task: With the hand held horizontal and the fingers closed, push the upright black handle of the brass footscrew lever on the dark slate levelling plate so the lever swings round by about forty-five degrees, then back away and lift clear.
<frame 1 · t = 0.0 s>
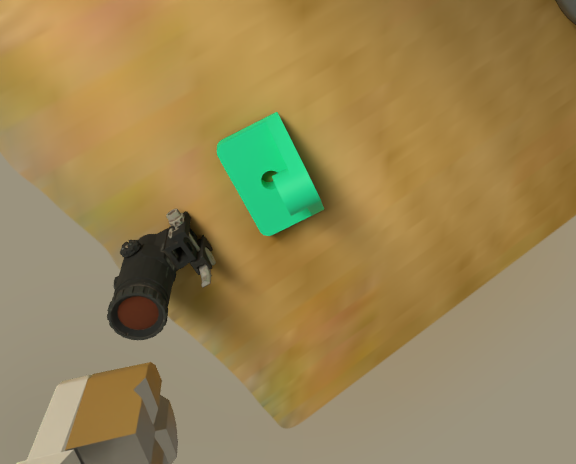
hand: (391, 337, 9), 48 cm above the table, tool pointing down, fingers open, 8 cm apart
camera mount: (268, 171, 58), on the table
scope: (161, 245, 60), on the table
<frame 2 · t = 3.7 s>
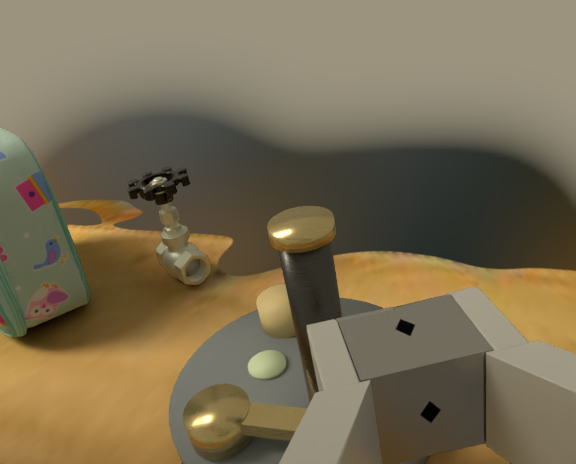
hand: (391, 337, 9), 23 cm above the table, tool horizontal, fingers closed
footscrew lever: (250, 343, 29), point 10 cm above the table, hinge at 0.0°
lunch box: (22, 295, 61), on the table
levelling plate: (306, 396, 39), on the table
valve: (188, 277, 58), on the table
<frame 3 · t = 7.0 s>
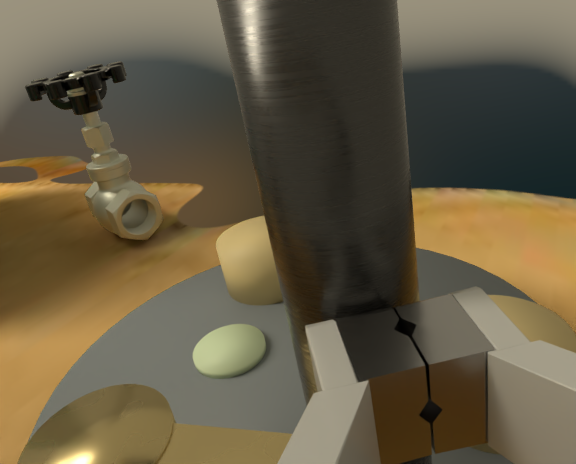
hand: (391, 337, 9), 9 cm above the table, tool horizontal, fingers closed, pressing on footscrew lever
footscrew lever: (148, 267, 11), point 10 cm above the table, hinge at 1.6°, touching gripper
levelling plate: (303, 410, 20), on the table
valve: (132, 233, 40), on the table
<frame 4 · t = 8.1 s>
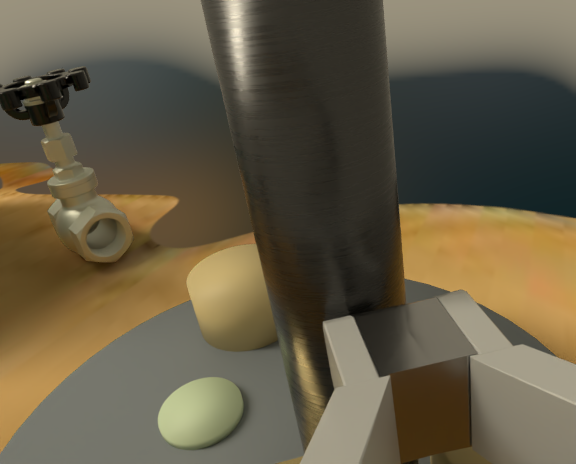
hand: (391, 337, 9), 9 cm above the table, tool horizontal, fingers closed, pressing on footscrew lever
footscrew lever: (104, 321, 9), point 10 cm above the table, hinge at 24.8°, touching gripper
valve: (100, 253, 36), on the table
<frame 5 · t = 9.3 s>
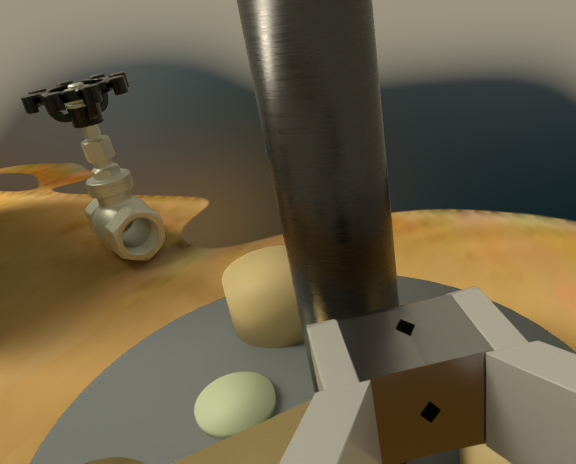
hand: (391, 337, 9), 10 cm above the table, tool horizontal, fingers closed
footscrew lever: (160, 284, 11), point 10 cm above the table, hinge at 40.8°
valve: (134, 251, 38), on the table
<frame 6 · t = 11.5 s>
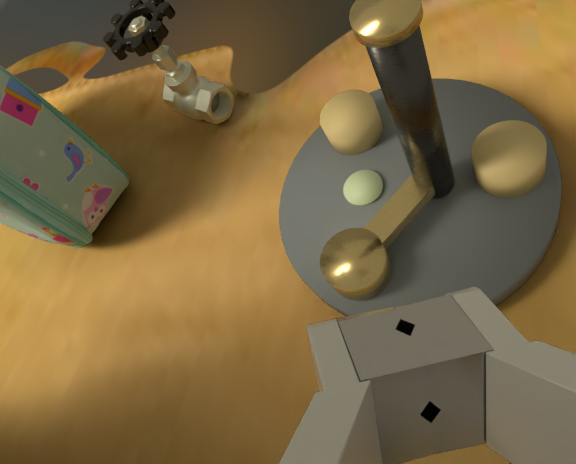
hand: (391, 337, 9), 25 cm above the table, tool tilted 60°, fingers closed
footscrew lever: (366, 170, 29), point 10 cm above the table, hinge at 40.8°
lunch box: (50, 196, 57), on the table
levelling plate: (410, 201, 39), on the table
valve: (209, 112, 52), on the table
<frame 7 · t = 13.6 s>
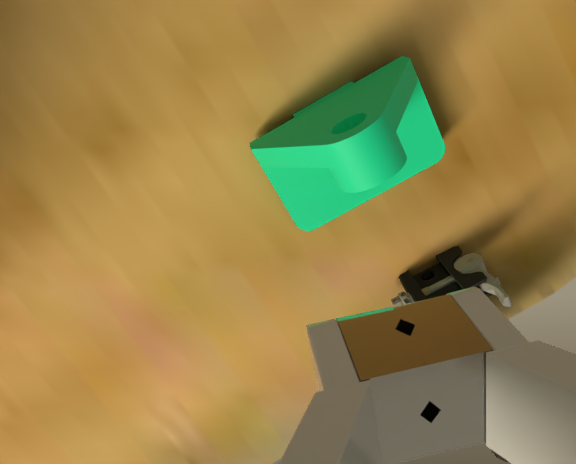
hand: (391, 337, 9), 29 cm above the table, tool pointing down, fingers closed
camera mount: (343, 141, 38), on the table
scope: (440, 303, 45), on the table
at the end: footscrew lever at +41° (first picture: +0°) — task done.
